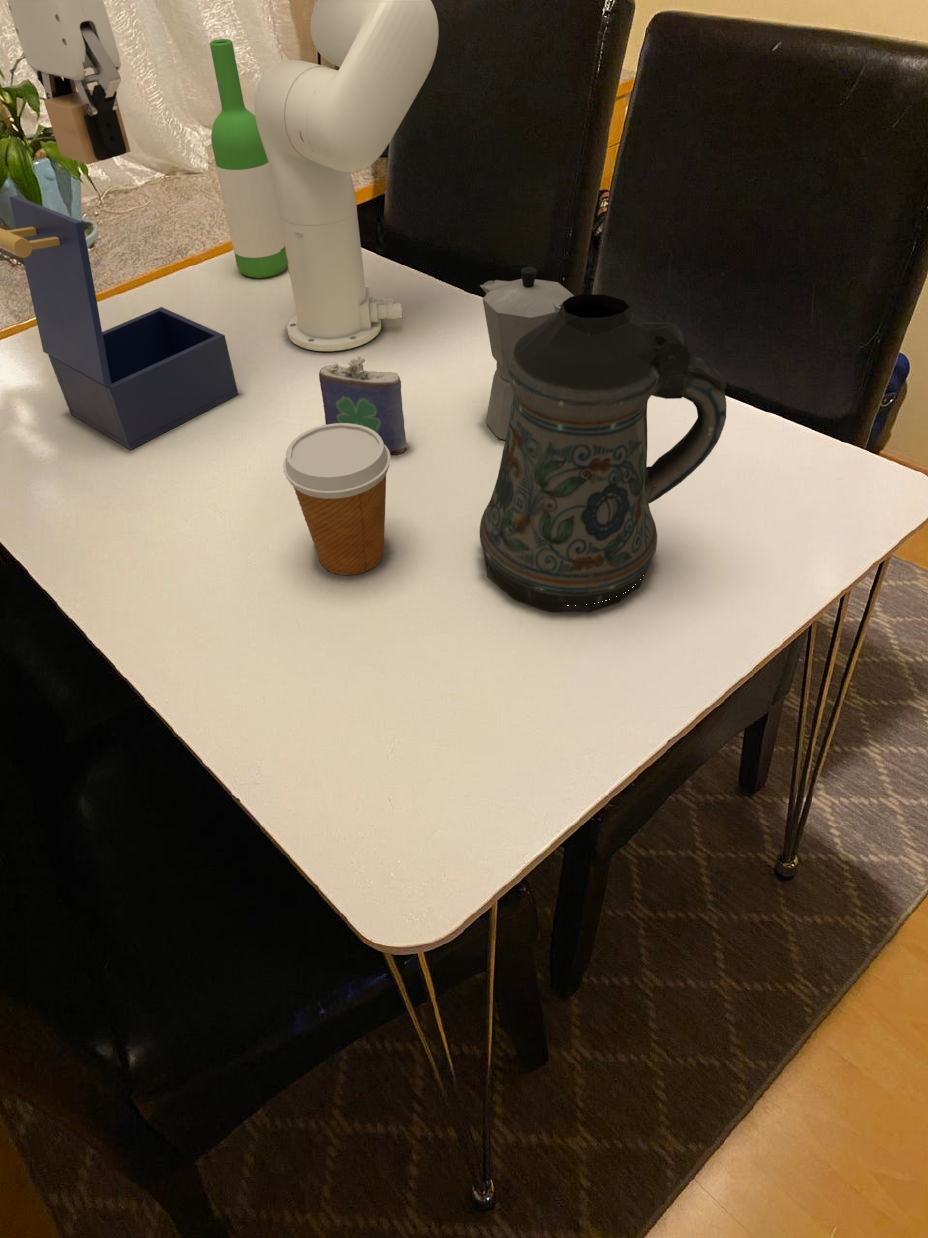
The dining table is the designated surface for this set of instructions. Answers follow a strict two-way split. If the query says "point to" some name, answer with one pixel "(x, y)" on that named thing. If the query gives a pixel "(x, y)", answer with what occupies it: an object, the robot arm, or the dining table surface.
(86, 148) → the block
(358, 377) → the flask
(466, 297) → the dining table surface
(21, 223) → the lid
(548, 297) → the coffeepot
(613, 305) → the beer stein
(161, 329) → the chest
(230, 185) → the wine bottle
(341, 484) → the disposable coffee cup
